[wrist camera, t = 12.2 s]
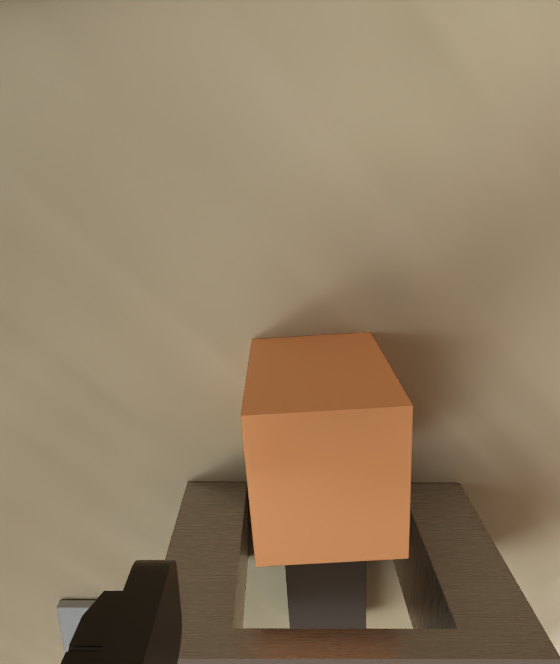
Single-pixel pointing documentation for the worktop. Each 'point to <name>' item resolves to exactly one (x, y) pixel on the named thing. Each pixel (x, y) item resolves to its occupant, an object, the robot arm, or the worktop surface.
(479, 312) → the worktop surface
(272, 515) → the plug
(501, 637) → the block
